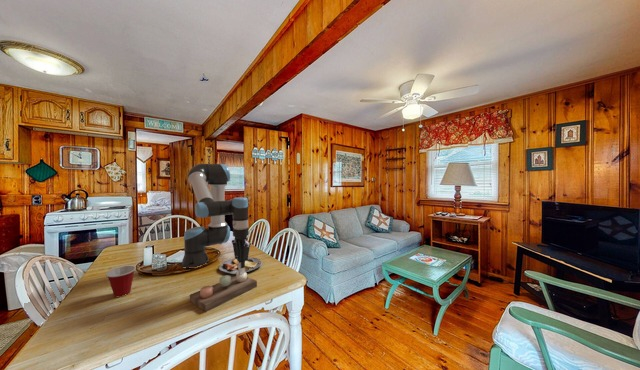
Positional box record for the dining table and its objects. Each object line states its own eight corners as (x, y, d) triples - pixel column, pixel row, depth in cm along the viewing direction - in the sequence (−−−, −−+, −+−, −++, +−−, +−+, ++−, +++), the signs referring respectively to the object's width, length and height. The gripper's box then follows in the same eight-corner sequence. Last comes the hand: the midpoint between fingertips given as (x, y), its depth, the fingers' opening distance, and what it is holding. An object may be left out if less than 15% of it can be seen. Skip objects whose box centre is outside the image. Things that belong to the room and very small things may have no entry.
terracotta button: (198, 295, 98) (198, 289, 98) (209, 291, 102) (209, 284, 102) (203, 299, 95) (203, 292, 95) (215, 294, 100) (214, 287, 99)
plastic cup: (102, 303, 99) (101, 276, 98) (111, 291, 108) (110, 267, 108) (133, 296, 104) (132, 271, 103) (139, 286, 113) (138, 263, 113)
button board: (190, 301, 100) (189, 294, 100) (240, 279, 121) (240, 273, 121) (205, 312, 92) (205, 305, 92) (256, 286, 113) (256, 280, 113)
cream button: (234, 280, 113) (234, 274, 113) (242, 276, 117) (242, 271, 117) (240, 283, 110) (240, 277, 110) (248, 279, 114) (248, 273, 114)
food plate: (210, 270, 133) (210, 264, 133) (240, 258, 153) (241, 252, 153) (240, 280, 121) (240, 274, 121) (268, 265, 142) (269, 260, 142)
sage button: (217, 284, 106) (217, 278, 105) (227, 280, 110) (227, 274, 110) (223, 287, 103) (223, 281, 103) (233, 283, 107) (232, 277, 107)
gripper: (226, 227, 113) (227, 273, 114) (242, 231, 106) (243, 279, 107) (239, 225, 119) (240, 268, 120) (255, 228, 112) (255, 274, 113)
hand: (241, 273), depth 113 cm, fingers closed
